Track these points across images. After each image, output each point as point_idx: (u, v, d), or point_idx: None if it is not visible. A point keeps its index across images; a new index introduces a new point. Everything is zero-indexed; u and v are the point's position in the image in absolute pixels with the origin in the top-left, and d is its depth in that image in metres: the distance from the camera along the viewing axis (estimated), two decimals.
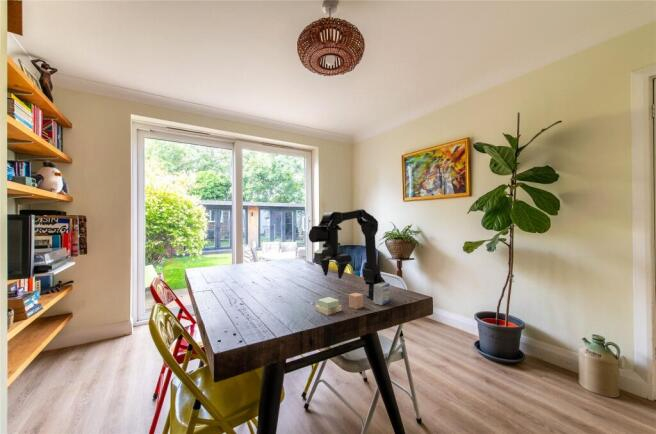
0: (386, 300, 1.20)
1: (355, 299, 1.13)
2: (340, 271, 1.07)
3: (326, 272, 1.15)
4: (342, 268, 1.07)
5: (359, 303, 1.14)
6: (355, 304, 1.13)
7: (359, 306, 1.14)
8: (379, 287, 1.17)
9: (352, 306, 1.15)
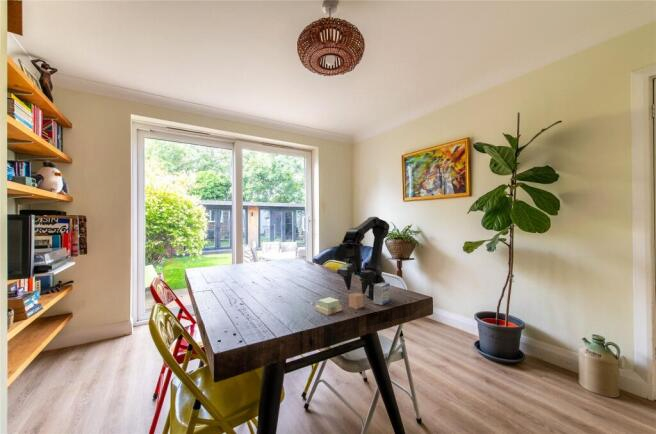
0: (386, 300, 1.20)
1: (355, 299, 1.13)
2: (364, 287, 1.11)
3: (349, 286, 1.20)
4: (366, 284, 1.12)
5: (359, 303, 1.14)
6: (355, 304, 1.13)
7: (359, 306, 1.14)
8: (380, 287, 1.17)
9: (352, 306, 1.15)
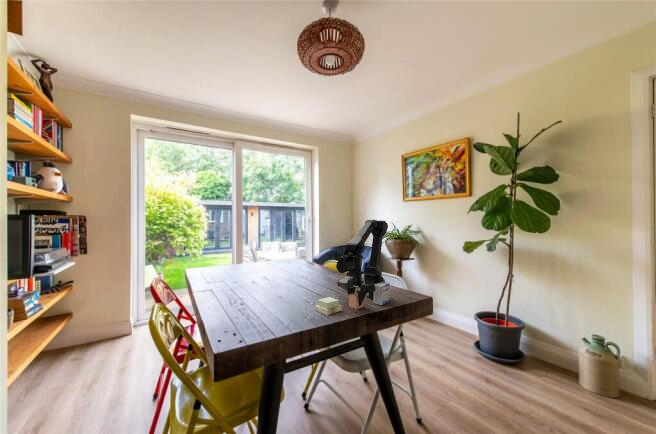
0: (386, 300, 1.20)
1: (355, 299, 1.13)
2: (360, 299, 1.13)
3: None
4: (362, 296, 1.14)
5: None
6: (355, 304, 1.13)
7: (359, 306, 1.14)
8: (380, 287, 1.17)
9: (352, 306, 1.15)
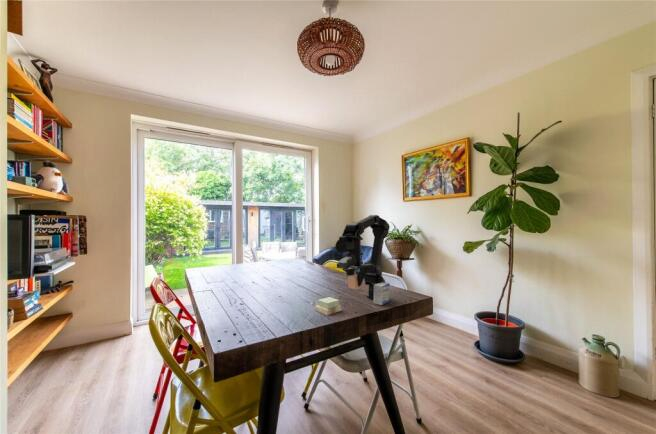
0: (386, 300, 1.20)
1: (354, 280, 1.13)
2: (360, 279, 1.13)
3: None
4: (362, 276, 1.14)
5: None
6: (354, 284, 1.13)
7: (358, 287, 1.14)
8: (380, 287, 1.17)
9: (351, 287, 1.15)
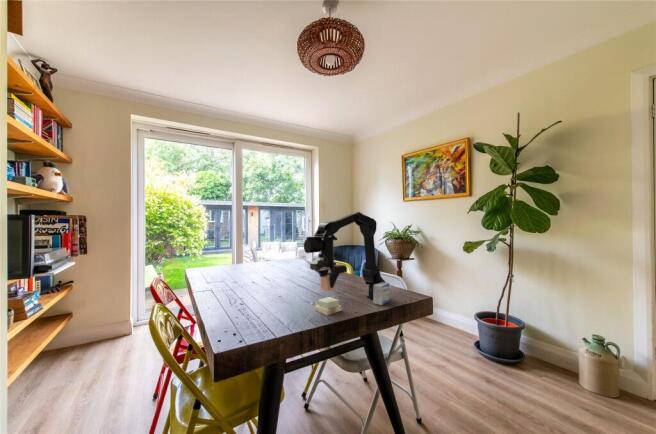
0: (386, 300, 1.20)
1: (326, 281, 1.10)
2: (332, 281, 1.09)
3: None
4: (334, 278, 1.10)
5: None
6: (326, 286, 1.09)
7: (331, 288, 1.10)
8: (379, 287, 1.17)
9: (324, 288, 1.11)
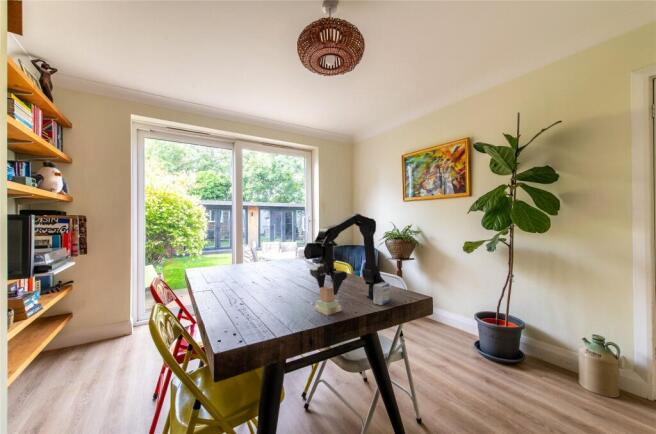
0: (386, 300, 1.20)
1: (325, 292, 1.09)
2: (335, 288, 1.07)
3: None
4: (337, 284, 1.08)
5: (330, 297, 1.10)
6: (326, 297, 1.09)
7: (330, 299, 1.10)
8: (379, 287, 1.17)
9: (323, 299, 1.10)
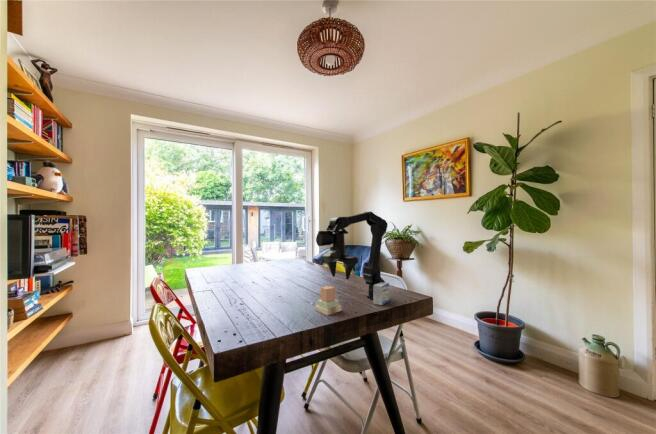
0: (386, 300, 1.20)
1: (325, 292, 1.09)
2: (347, 272, 1.14)
3: (334, 273, 1.22)
4: (349, 269, 1.15)
5: (330, 297, 1.10)
6: (325, 297, 1.09)
7: (330, 299, 1.10)
8: (379, 287, 1.17)
9: (323, 299, 1.11)
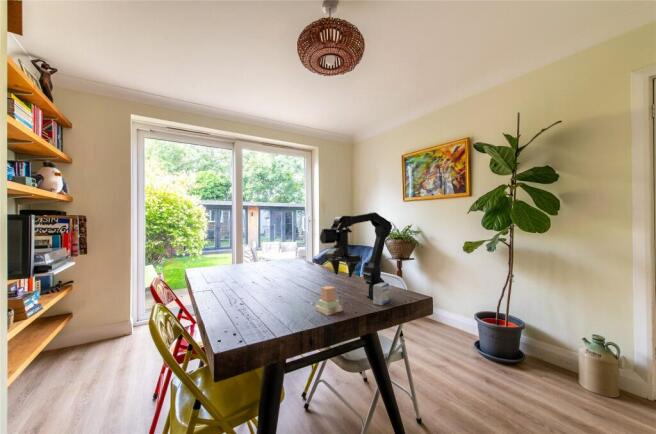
0: (386, 300, 1.20)
1: (325, 292, 1.09)
2: (350, 270, 1.16)
3: (337, 271, 1.24)
4: (352, 267, 1.17)
5: (331, 297, 1.10)
6: (326, 297, 1.09)
7: (330, 299, 1.10)
8: (379, 287, 1.17)
9: (323, 299, 1.11)
